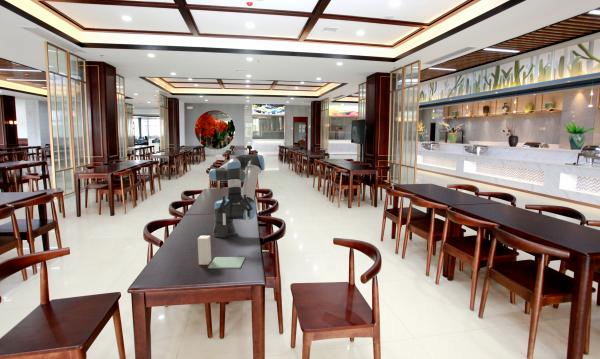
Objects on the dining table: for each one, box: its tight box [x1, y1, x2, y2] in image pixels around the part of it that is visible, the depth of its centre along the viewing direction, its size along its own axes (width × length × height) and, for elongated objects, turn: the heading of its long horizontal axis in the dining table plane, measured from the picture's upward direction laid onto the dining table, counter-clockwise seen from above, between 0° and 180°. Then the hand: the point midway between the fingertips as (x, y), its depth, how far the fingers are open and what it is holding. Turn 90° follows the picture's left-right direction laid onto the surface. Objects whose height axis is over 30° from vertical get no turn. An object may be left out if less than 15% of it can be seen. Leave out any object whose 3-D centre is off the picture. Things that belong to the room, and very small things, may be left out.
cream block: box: [197, 235, 212, 266], centre depth 179 cm, size 5×5×14 cm
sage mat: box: [207, 256, 246, 269], centre depth 179 cm, size 14×16×1 cm
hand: (235, 223), depth 200 cm, fingers open, 13 cm apart
